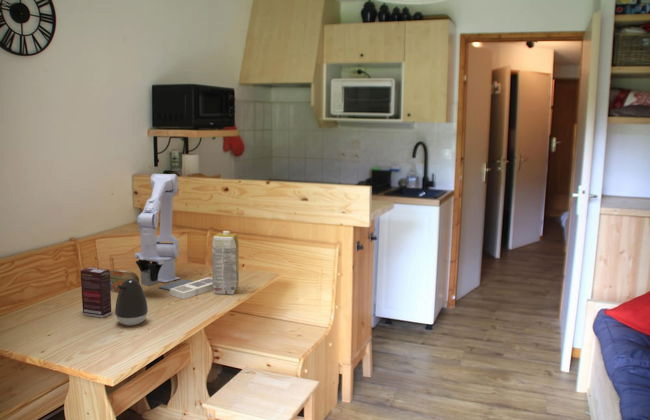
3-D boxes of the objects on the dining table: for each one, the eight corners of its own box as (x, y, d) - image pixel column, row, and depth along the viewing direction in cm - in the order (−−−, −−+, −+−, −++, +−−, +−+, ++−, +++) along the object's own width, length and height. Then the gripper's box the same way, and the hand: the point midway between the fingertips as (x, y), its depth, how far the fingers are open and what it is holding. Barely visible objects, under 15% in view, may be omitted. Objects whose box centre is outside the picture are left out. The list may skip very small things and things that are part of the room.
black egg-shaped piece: (108, 325, 186) (106, 280, 184) (132, 315, 195) (131, 272, 193) (131, 331, 182) (129, 285, 179) (154, 321, 191) (153, 277, 188)
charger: (141, 284, 215) (140, 271, 214) (150, 281, 219) (150, 268, 218) (148, 286, 213) (148, 273, 212) (158, 283, 216) (157, 270, 215)
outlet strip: (169, 295, 218) (169, 287, 217) (214, 280, 237) (214, 273, 237) (183, 299, 213) (183, 291, 213) (228, 284, 233) (228, 277, 232)
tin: (104, 290, 222) (103, 269, 220) (110, 288, 225) (109, 267, 223) (135, 295, 216) (135, 274, 215) (141, 293, 219) (140, 272, 218)
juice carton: (240, 289, 226) (239, 230, 222) (234, 295, 219) (234, 234, 215) (217, 288, 227) (216, 229, 223) (211, 294, 220) (210, 233, 216)
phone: (158, 289, 225) (158, 287, 225) (183, 281, 237) (183, 278, 237) (171, 292, 222) (171, 290, 222) (195, 284, 234) (195, 281, 234)
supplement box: (112, 313, 197) (110, 269, 194) (102, 318, 192) (100, 272, 189) (91, 310, 199) (89, 266, 197) (81, 314, 195) (79, 269, 192)
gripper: (127, 243, 214) (128, 278, 216) (152, 249, 206) (154, 285, 208) (142, 240, 219) (144, 274, 222) (168, 245, 211) (169, 281, 214)
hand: (149, 279), depth 215 cm, fingers closed on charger, 4 cm apart
